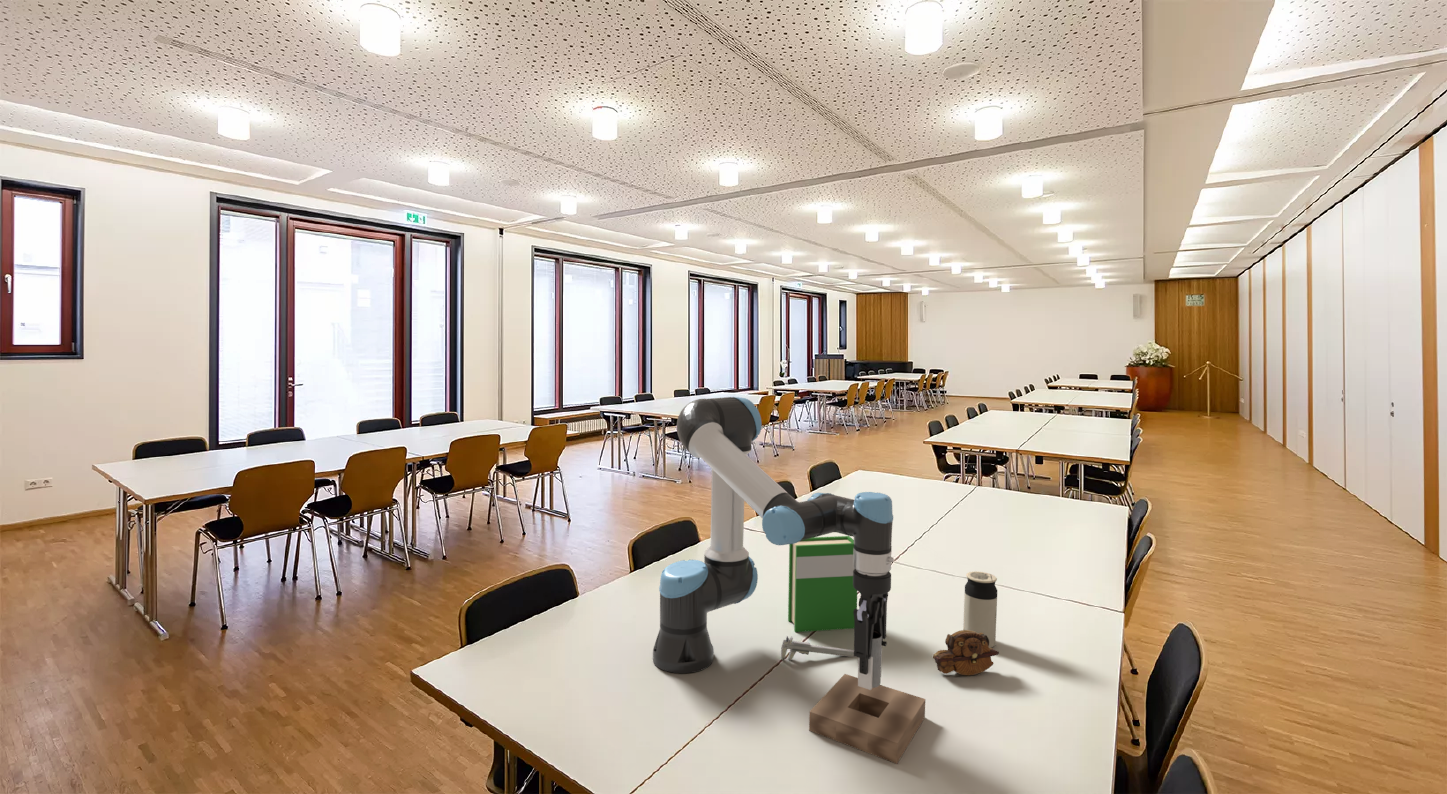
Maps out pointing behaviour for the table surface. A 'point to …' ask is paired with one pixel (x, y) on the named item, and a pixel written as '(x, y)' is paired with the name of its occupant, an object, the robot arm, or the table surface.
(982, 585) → the travel mug
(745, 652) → the table surface
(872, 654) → the grey metal tube
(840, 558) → the hardback book
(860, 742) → the socket board
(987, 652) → the wooden carving
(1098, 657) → the table surface
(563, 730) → the table surface
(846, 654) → the caliper
